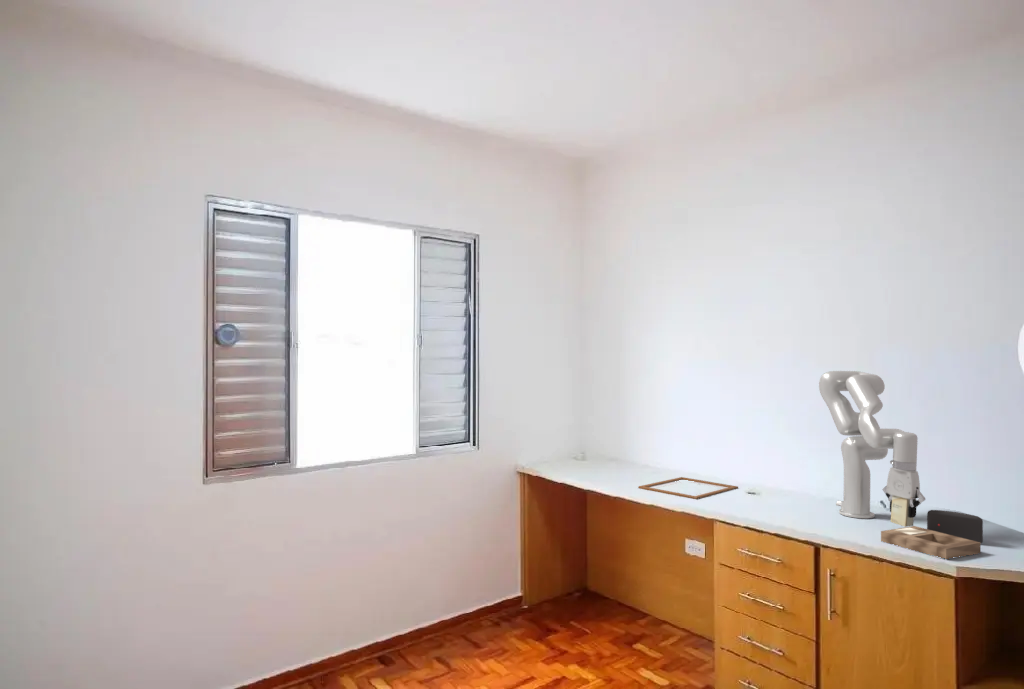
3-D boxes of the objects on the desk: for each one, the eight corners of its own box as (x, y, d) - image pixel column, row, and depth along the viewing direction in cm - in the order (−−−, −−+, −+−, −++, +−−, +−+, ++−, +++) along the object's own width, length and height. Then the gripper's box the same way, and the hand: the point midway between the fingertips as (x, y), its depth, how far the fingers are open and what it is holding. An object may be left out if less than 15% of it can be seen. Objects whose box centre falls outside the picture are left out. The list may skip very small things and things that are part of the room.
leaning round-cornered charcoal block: (983, 542, 227) (984, 515, 227) (982, 545, 223) (982, 517, 223) (928, 533, 237) (929, 507, 237) (926, 536, 234) (926, 509, 234)
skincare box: (890, 522, 242) (891, 489, 242) (898, 521, 244) (899, 488, 244) (906, 527, 237) (907, 493, 236) (914, 526, 238) (915, 492, 238)
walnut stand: (880, 541, 226) (881, 530, 226) (914, 535, 234) (914, 525, 234) (946, 559, 206) (946, 547, 206) (980, 553, 214) (980, 541, 214)
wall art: (638, 486, 310) (681, 476, 336) (638, 489, 310) (681, 479, 336) (696, 497, 288) (738, 486, 314) (696, 500, 288) (738, 489, 314)
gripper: (875, 462, 246) (873, 509, 247) (921, 471, 230) (919, 522, 231) (888, 460, 249) (887, 507, 250) (934, 470, 234) (932, 520, 234)
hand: (902, 514), depth 240 cm, fingers closed on skincare box, 6 cm apart
